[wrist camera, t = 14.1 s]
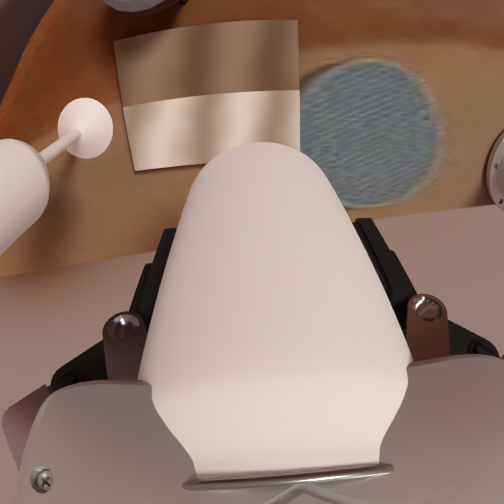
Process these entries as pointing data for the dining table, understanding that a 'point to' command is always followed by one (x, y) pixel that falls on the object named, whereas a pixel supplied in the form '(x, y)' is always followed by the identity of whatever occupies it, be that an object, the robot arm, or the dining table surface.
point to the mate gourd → (141, 6)
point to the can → (273, 330)
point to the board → (209, 90)
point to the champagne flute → (34, 165)
